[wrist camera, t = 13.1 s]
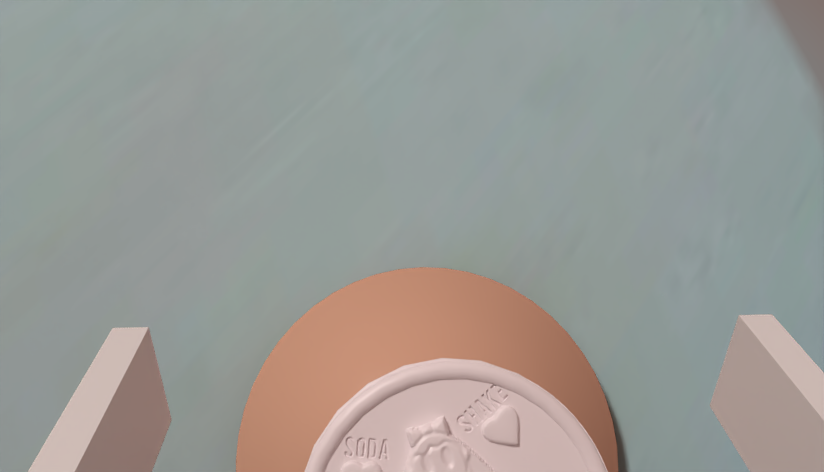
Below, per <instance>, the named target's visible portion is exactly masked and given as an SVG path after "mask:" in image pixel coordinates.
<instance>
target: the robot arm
mask: <svg viewBox="0 0 824 472" xmlns="http://www.w3.org/2000/svg"><path fill="white" fill-rule="evenodd" d="M710 407H711V409H712V410H713V412H714V413H715V415H716V417H717V418H718V420H719V422H720V423H721V425H722V426H723V428H724V430H725V431H726V433H727V435H728V436H729V438H730V439H731V441H732V443H733V444H734V446H735V448H736V449H737V451H738V452H739V454H740V456H741V457H742V459H743V461H744V462H745V464H746V465H747V467H748V469H749V470H750V472H824V373H823V372H822V370H821V369H820V368H819V367H818V366H817V365H816V364H815V363H814V361H813V360H812V359H811V358H810V357H809V356H808V355H807V353H806V352H805V351H804V350H803V349H802V348H801V347H800V346H799V344H798V343H797V342H796V341H795V340H794V339H793V338H792V336H791V335H790V334H789V333H788V332H787V331H786V330H785V329H784V327H783V326H782V325H781V324H780V323H779V322H778V321H777V320H776V318H775V317H774V316H773V315H739V316H738V319H737V322H736V325H735V329H734V332H733V335H732V338H731V341H730V344H729V347H728V350H727V354H726V357H725V360H724V363H723V366H722V369H721V372H720V375H719V379H718V382H717V385H716V388H715V391H714V394H713V397H712V400H711V404H710ZM170 423H171V416H170V411H169V407H168V403H167V399H166V395H165V391H164V387H163V383H162V379H161V375H160V371H159V367H158V363H157V359H156V355H155V351H154V347H153V343H152V339H151V335H150V331H149V327H137V328H112V330H111V332H110V333H109V335H108V337H107V339H106V340H105V342H104V344H103V345H102V347H101V349H100V350H99V352H98V354H97V355H96V357H95V359H94V361H93V362H92V364H91V366H90V367H89V369H88V371H87V372H86V374H85V376H84V377H83V379H82V381H81V383H80V384H79V386H78V388H77V389H76V391H75V393H74V394H73V396H72V398H71V400H70V401H69V403H68V405H67V406H66V408H65V410H64V411H63V413H62V415H61V416H60V418H59V420H58V422H57V423H56V425H55V427H54V428H53V430H52V432H51V433H50V435H49V437H48V438H47V440H46V442H45V444H44V445H43V447H42V449H41V450H40V452H39V454H38V455H37V457H36V459H35V461H34V462H33V464H32V466H31V467H30V469H29V471H28V472H152V469H153V467H154V464H155V462H156V459H157V456H158V454H159V451H160V449H161V446H162V443H163V441H164V438H165V436H166V433H167V430H168V428H169V425H170Z"/></svg>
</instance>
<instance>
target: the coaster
mask: <svg viewBox="0 0 824 472" xmlns="http://www.w3.org/2000/svg"><path fill="white" fill-rule="evenodd" d="M439 358H452V359H466V360H480V361H484V362H487V363H489V364H492V365H495V366H498V367H501V368H504V369H507V370H510V371H512V372H515V373H518V374H520V375H521V376H523V377H525V378H526V379H528V380H530V381H532V382H534V383H535V384H537V385H539V386H540V387H542V388H543V389H544V390H546V391H547V392H549V393H550V394H552V395H553V396H554V397H555V398H556V399H557V400H559V401H560V402H561V403H562V404H563V405H564V406H565V407H566V408H567V409H568V410H569V411H570V412H571V413H572V414H573V415H574V416H575V417H576V419H577V420H578V421H579V422H580V424H581V425H582V426H583V427H584V428H585V430H586V431H587V433H588V434H589V436H590V437H591V439H592V440H593V442H594V444H595V446H596V448H597V449H598V451H599V453H600V455H601V457H602V459H603V462H604V464H605V466H606V469H607V471H608V472H618V455H617V443H616V438H615V432H614V426H613V421H612V417H611V414H610V411H609V408H608V404H607V401H606V398H605V395H604V393H603V391H602V388H601V386H600V384H599V381H598V379H597V377H596V375H595V373H594V371H593V369H592V368H591V366H590V364H589V363H588V361H587V359H586V357H585V356H584V354H583V352H582V351H581V350H580V348H579V347H578V346H577V345H576V343H575V342H574V341H573V339H572V338H571V337H570V335H569V334H568V333H567V332H566V331H565V330H564V329H563V328H562V327H561V326H560V325H559V324H558V323H557V322H556V321H555V320H554V319H553V318H552V317H551V316H550V315H549V314H548V313H547V312H545V311H544V310H543V309H542V308H540V307H539V306H538V305H536V304H535V303H534V302H533V301H531V300H530V299H528V298H526V297H525V296H523V295H522V294H520V293H518V292H517V291H515V290H513V289H512V288H509V287H507V286H505V285H503V284H500V283H498V282H496V281H494V280H492V279H489V278H486V277H482V276H479V275H476V274H472V273H469V272H464V271H458V270H452V269H446V268H426V267H420V268H409V269H398V270H394V271H389V272H385V273H380V274H376V275H373V276H370V277H367V278H365V279H362V280H359V281H356V282H354V283H352V284H350V285H348V286H346V287H344V288H342V289H340V290H338V291H336V292H334V293H332V294H331V295H329V296H328V297H327V298H325V299H324V300H322V301H321V302H319V303H318V304H316V305H315V306H313V307H312V308H311V309H310V310H309V311H308V312H307V313H305V314H304V315H303V316H302V317H301V318H300V319H299V320H298V321H296V322H295V323H294V325H293V326H292V327H291V328H290V329H289V330H288V331H287V333H286V334H285V335H284V336H283V337H282V338H281V339H280V341H279V342H278V343H277V345H276V346H275V348H274V349H273V351H272V352H271V354H270V355H269V357H268V358H267V360H266V361H265V363H264V365H263V367H262V368H261V370H260V372H259V374H258V376H257V378H256V380H255V382H254V384H253V387H252V390H251V392H250V395H249V398H248V401H247V403H246V406H245V409H244V413H243V418H242V422H241V426H240V431H239V436H238V446H237V456H236V472H305V469H306V466H307V463H308V461H309V458H310V455H311V452H312V449H313V447H314V444H315V443H316V441H317V440H318V438H319V437H320V435H321V434H322V433H323V431H324V430H325V428H326V427H327V425H328V424H329V422H330V421H331V419H332V418H333V416H334V415H335V413H336V412H337V410H338V409H340V408H341V407H342V406H343V405H344V404H345V403H346V402H347V401H349V400H350V399H351V398H352V397H353V396H354V395H355V394H356V393H358V392H359V391H360V390H361V389H362V388H363V387H364V386H366V385H367V384H368V383H370V382H372V381H374V380H376V379H378V378H380V377H382V376H384V375H386V374H388V373H390V372H392V371H394V370H396V369H398V368H400V367H402V366H404V365H409V364H414V363H419V362H424V361H429V360H434V359H439Z"/></svg>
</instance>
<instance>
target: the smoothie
mask: <svg viewBox="0 0 824 472" xmlns="http://www.w3.org/2000/svg"><path fill="white" fill-rule="evenodd" d="M305 472H608V471H607V469H606V466H605V464H604V462H603V459H602V457H601V455H600V453H599V451H598V449H597V448H596V446H595V444H594V442H593V440H592V439H591V437H590V436H589V434H588V433H587V431H586V430H585V428H584V427H583V426H582V425H581V424H580V422H579V421H578V420H577V419H576V417H575V416H574V415H573V414H572V413H571V412H570V411H569V410H568V409H567V408H566V407H565V406H564V405H563V404H562V403H561V402H560V401H559V400H557V399H556V398H555V397H554V396H553V395H552V394H550V393H549V392H547V391H546V390H544V389H543V388H542V387H540V386H539V385H537V384H535V383H534V382H532V381H530V380H528V379H526V378H525V377H523V376H521V375H520V374H518V373H515V372H512V371H510V370H507V369H504V368H501V367H498V366H495V365H492V364H489V363H487V362H484V361H480V360H466V359H452V358H439V359H434V360H429V361H424V362H419V363H414V364H409V365H404V366H402V367H400V368H398V369H396V370H394V371H392V372H390V373H388V374H386V375H384V376H382V377H380V378H378V379H376V380H374V381H372V382H370V383H368V384H367V385H366V386H364V387H363V388H362V389H361V390H360V391H359V392H358V393H356V394H355V395H354V396H353V397H352V398H351V399H350V400H349V401H347V402H346V403H345V404H344V405H343V406H342V407H341V408H340V409H338V410H337V412H336V413H335V415H334V416H333V418H332V419H331V421H330V422H329V424H328V425H327V427H326V428H325V430H324V431H323V433H322V434H321V435H320V437H319V438H318V440H317V441H316V443H315V444H314V447H313V449H312V452H311V455H310V458H309V461H308V463H307V466H306V469H305Z"/></svg>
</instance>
